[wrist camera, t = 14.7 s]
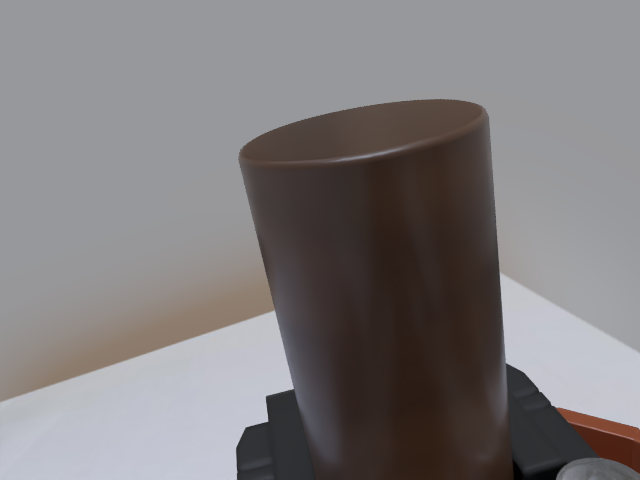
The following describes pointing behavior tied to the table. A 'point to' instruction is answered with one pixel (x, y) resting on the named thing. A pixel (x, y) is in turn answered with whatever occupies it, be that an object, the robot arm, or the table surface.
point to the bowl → (607, 438)
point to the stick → (388, 288)
